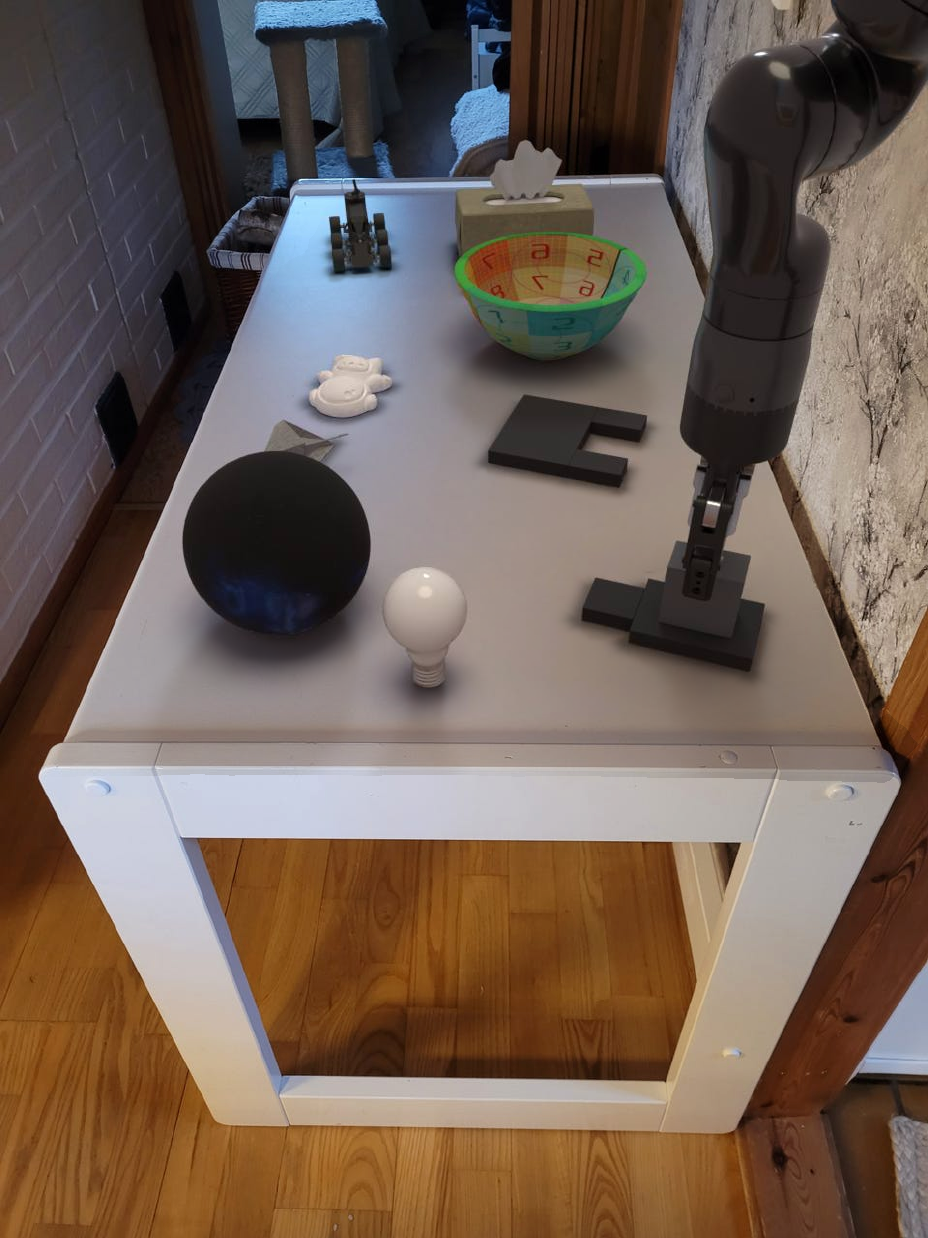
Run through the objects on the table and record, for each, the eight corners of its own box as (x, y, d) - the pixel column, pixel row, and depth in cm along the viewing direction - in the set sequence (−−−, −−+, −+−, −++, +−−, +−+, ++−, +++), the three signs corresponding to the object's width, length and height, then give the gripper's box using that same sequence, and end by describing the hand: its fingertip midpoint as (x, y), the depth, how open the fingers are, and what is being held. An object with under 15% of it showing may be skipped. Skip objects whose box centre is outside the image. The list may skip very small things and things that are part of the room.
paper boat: (271, 428, 103) (351, 403, 102) (289, 486, 104) (369, 462, 103) (234, 428, 91) (323, 400, 90) (255, 493, 92) (344, 466, 91)
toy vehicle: (384, 231, 146) (380, 171, 140) (392, 271, 135) (387, 208, 129) (331, 235, 145) (324, 175, 139) (334, 276, 134) (327, 212, 128)
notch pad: (645, 426, 104) (647, 414, 103) (619, 487, 96) (620, 475, 95) (523, 405, 107) (523, 393, 106) (488, 462, 99) (487, 450, 98)
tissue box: (460, 272, 134) (457, 153, 123) (455, 245, 141) (451, 130, 130) (592, 265, 135) (601, 146, 124) (580, 238, 142) (587, 123, 131)
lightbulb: (448, 643, 80) (444, 540, 72) (482, 693, 75) (481, 589, 68) (378, 668, 78) (366, 564, 70) (408, 721, 74) (398, 617, 66)
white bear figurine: (403, 371, 114) (401, 347, 112) (366, 422, 106) (363, 398, 104) (336, 361, 116) (333, 338, 114) (294, 411, 108) (290, 387, 106)
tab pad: (761, 616, 81) (779, 547, 76) (749, 672, 77) (768, 602, 71) (597, 580, 85) (604, 512, 80) (576, 631, 81) (582, 562, 75)
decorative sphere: (381, 553, 89) (366, 412, 78) (373, 670, 78) (355, 523, 67) (219, 558, 89) (183, 417, 78) (188, 675, 78) (142, 530, 67)
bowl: (492, 407, 107) (492, 323, 101) (433, 322, 123) (429, 245, 116) (670, 371, 112) (681, 290, 106) (591, 295, 128) (597, 219, 121)
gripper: (789, 444, 58) (740, 632, 70) (812, 339, 68) (766, 520, 79) (668, 422, 60) (639, 609, 72) (707, 323, 70) (676, 502, 81)
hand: (706, 562), depth 75 cm, fingers open, 8 cm apart
